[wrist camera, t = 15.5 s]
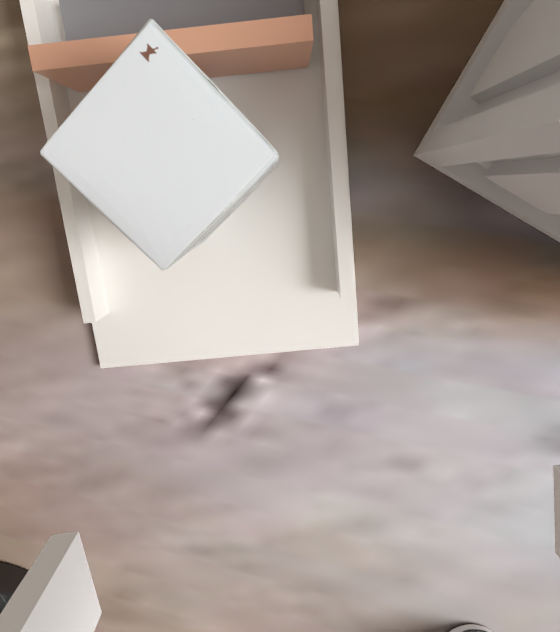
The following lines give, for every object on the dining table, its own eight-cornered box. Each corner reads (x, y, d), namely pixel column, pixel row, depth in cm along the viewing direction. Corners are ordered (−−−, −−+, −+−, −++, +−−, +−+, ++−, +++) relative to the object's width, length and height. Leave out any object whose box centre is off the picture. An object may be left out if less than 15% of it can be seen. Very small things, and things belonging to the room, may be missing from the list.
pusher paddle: (78, 92, 32) (32, 71, 26) (62, 2, 31) (10, -40, 25) (308, 67, 31) (313, 40, 26) (301, -25, 30) (305, -75, 24)
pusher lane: (103, 365, 37) (35, 433, 27) (29, -20, 31) (-97, -121, 21) (358, 342, 37) (386, 403, 26) (333, -55, 31) (357, -177, 20)
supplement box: (123, 162, 33) (28, 148, 21) (202, 76, 32) (151, 7, 20) (204, 244, 34) (160, 276, 22) (284, 165, 33) (283, 152, 21)
